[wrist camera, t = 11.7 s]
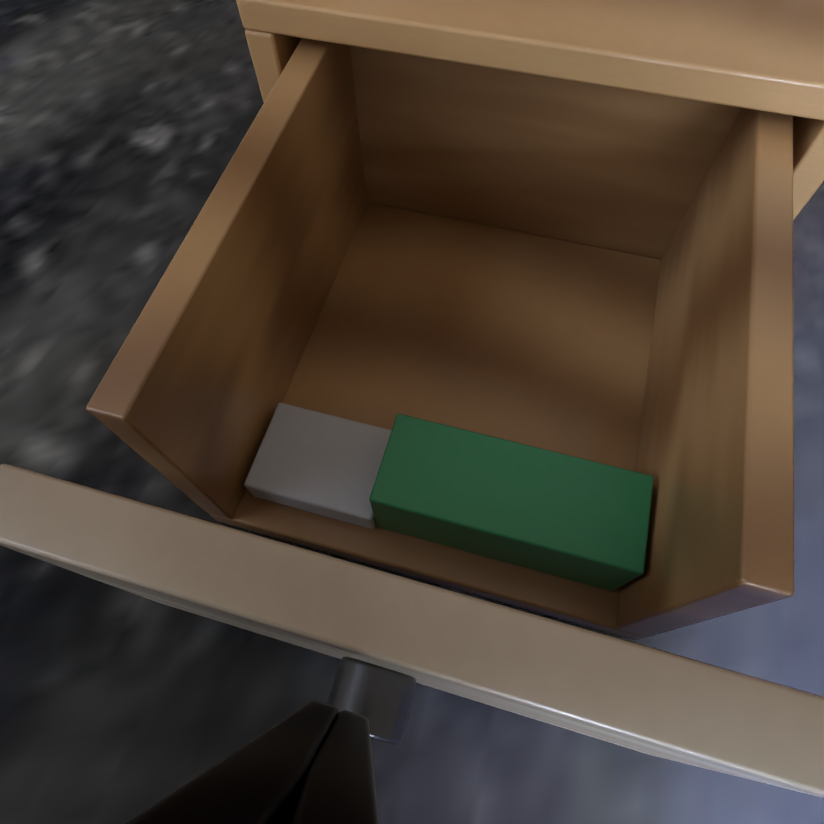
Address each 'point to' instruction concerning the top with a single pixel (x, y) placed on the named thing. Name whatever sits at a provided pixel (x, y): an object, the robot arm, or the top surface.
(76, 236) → the top surface
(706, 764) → the drawer
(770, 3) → the cabinet
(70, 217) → the top surface
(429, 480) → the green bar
